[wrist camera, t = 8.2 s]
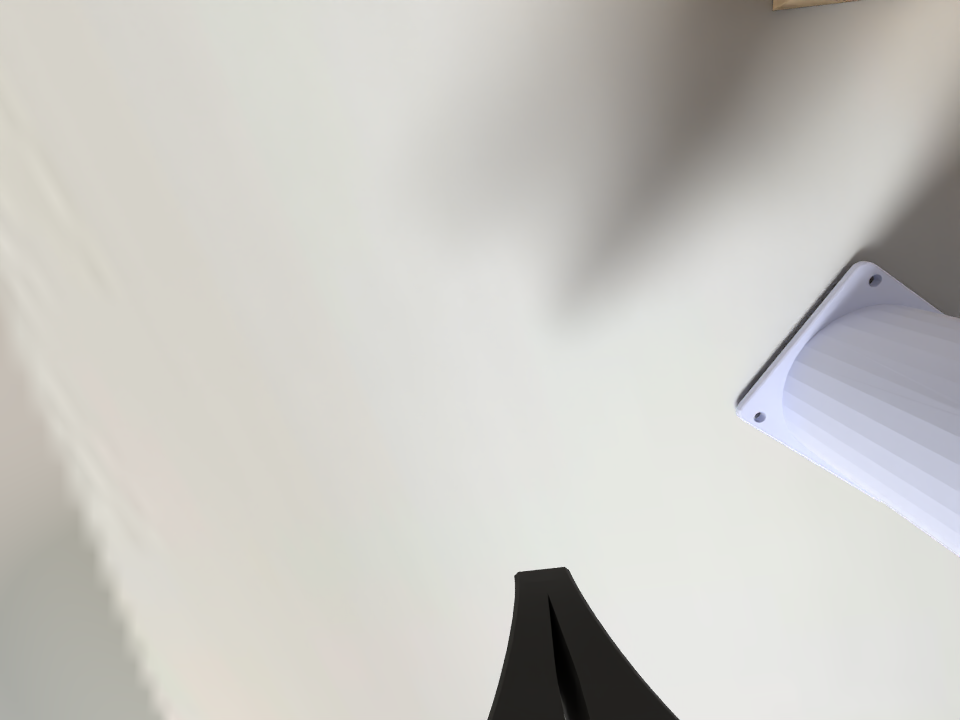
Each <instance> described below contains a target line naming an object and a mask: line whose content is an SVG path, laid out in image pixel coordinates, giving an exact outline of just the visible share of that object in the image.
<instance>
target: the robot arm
mask: <svg viewBox="0 0 960 720" xmlns="http://www.w3.org/2000/svg"><path fill="white" fill-rule="evenodd" d="M872 276H874V280H873V281H872V283H871V284H870V285H869V280H870V278H871V277H872ZM759 412H760V413H761V414H760V416H759V417H758V418H756V419H754V417H755V415H756V414H757V413H759ZM736 414H737V416H738V417H739V418H741V419H742V420H743V421H745V422H746V423H748V424H750V425H751V426H753V427H755V428H756V429H758V430H760V431H761V432H763V433H765V434H767V435H768V436H770V437H772V438H773V439H775V440H777V441H778V442H780V443H782V444H783V445H785V446H787V447H788V448H790V449H792V450H793V451H795V452H797V453H798V454H800V455H802V456H803V457H805V458H807V459H808V460H810V461H812V462H814V463H815V464H817V465H819V466H820V467H822V468H824V469H825V470H827V471H829V472H830V473H832V474H834V475H835V476H837V477H839V478H840V479H842V480H844V481H845V482H847V483H849V484H850V485H852V486H854V487H855V488H857V489H859V490H861V491H862V492H864V493H866V494H867V495H869V496H871V497H872V498H874V499H876V500H877V501H880V502H883V503H884V504H886V505H887V506H888V507H890V508H891V509H893V510H894V511H895V512H897V513H898V514H900V515H901V516H902V517H904V518H905V519H907V520H908V521H909V522H911V523H912V524H914V525H915V526H916V527H918V528H919V529H921V530H922V531H923V532H925V533H926V534H928V535H929V536H930V537H932V538H933V539H935V540H936V541H937V542H939V543H940V544H942V545H943V546H944V547H946V548H947V549H949V550H950V551H952V552H953V553H954V554H956V555H957V556H959V557H960V318H957V317H952V316H948V315H945V314H943V313H942V312H941V311H939V310H938V309H936V308H935V307H934V306H932V305H931V304H930V303H928V302H927V301H925V300H924V299H923V298H921V297H920V296H919V295H917V294H916V293H914V292H913V291H912V290H910V289H909V288H908V287H906V286H905V285H904V284H902V283H901V282H899V281H898V280H897V279H895V278H894V277H893V276H891V275H890V274H888V273H887V272H886V271H884V270H883V269H882V268H880V267H879V266H877V265H876V264H875V263H872V262H868V261H859V262H857V263H855V264H854V265H853V266H852V267H851V268H850V269H849V270H848V271H847V272H846V274H845V275H844V276H843V277H842V279H841V280H840V281H839V282H838V283H837V285H836V286H835V287H834V288H833V290H832V291H831V292H830V293H829V294H828V296H827V297H826V298H825V299H824V300H823V302H822V303H821V304H820V305H819V307H818V308H817V309H816V310H815V311H814V313H813V314H812V315H811V316H810V318H809V319H808V320H807V321H806V322H805V324H804V325H803V326H802V327H801V328H800V330H799V331H798V332H797V333H796V335H795V336H794V337H793V338H792V339H791V341H790V342H789V343H788V344H787V346H786V347H785V348H784V349H783V350H782V352H781V353H780V354H779V355H778V356H777V358H776V359H775V360H774V361H773V363H772V364H771V365H770V366H769V367H768V369H767V370H766V371H765V372H764V374H763V375H762V376H761V377H760V378H759V380H758V381H757V382H756V383H755V384H754V386H753V387H752V388H751V389H750V391H749V392H748V393H747V394H746V395H745V397H744V398H743V399H742V400H741V401H740V403H739V404H738V406H737V407H736ZM514 577H515V601H514V611H513V619H512V624H511V630H510V636H509V641H508V647H507V651H506V655H505V659H504V664H503V668H502V672H501V676H500V680H499V684H498V687H497V691H496V694H495V698H494V701H493V704H492V707H491V710H490V713H489V717H488V720H565V718H566V720H679V719H678V718H677V717H676V716H675V715H674V714H673V712H672V711H671V710H670V709H669V708H668V707H667V706H666V705H665V704H664V703H663V702H662V700H661V699H660V698H659V697H658V696H657V695H656V694H655V693H654V691H653V690H652V689H651V688H650V687H649V686H648V684H647V683H646V682H645V681H644V680H643V679H642V677H641V676H640V675H639V674H638V673H637V671H636V670H635V669H634V668H633V666H632V665H631V664H630V662H629V661H628V660H627V659H626V657H625V656H624V655H623V654H622V652H621V651H620V650H619V648H618V647H617V646H616V644H615V643H614V642H613V640H612V639H611V637H610V636H609V635H608V633H607V632H606V630H605V629H604V627H603V626H602V625H601V623H600V622H599V620H598V619H597V617H596V616H595V614H594V613H593V611H592V610H591V608H590V607H589V605H588V603H587V602H586V600H585V599H584V597H583V595H582V594H581V592H580V590H579V588H578V587H577V585H576V583H575V581H574V579H573V577H572V575H571V573H570V571H569V570H568V569H567V568H565V567H560V568H551V569H542V570H532V571H523V572H518V573H517V574H516V575H515V576H514Z"/></svg>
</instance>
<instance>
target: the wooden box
mask: <svg viewBox="0 0 960 720" xmlns="http://www.w3.org/2000/svg"><path fill="white" fill-rule="evenodd" d="M850 1H859V0H773V11H775V10H784V9H792V8H800V7H809V6H817V5H825V4H834V3H842V2H850Z"/></svg>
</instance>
